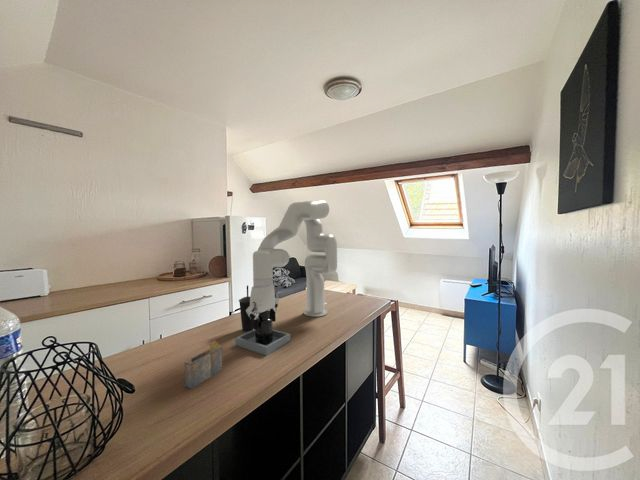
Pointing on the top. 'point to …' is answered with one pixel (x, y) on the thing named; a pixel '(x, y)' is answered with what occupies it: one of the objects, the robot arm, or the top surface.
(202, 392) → the top surface
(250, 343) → the tray
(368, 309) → the top surface
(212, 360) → the grey thin box
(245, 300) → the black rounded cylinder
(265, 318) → the supplement bottle
